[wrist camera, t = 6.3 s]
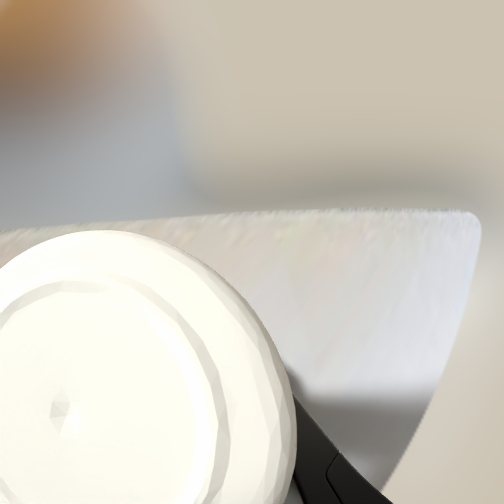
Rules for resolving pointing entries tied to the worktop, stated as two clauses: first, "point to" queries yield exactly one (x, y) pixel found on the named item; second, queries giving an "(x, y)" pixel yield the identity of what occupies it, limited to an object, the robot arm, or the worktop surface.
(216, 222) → the worktop surface
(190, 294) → the sprinkles bottle
